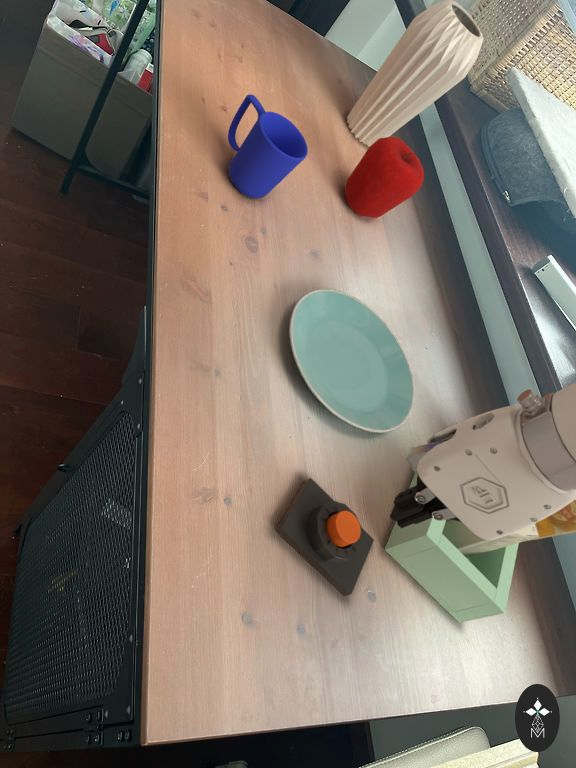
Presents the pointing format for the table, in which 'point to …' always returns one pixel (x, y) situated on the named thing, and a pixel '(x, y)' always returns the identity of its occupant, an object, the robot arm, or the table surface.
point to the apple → (384, 178)
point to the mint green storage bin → (453, 569)
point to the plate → (351, 361)
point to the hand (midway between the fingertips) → (399, 512)
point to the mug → (264, 151)
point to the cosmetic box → (476, 545)
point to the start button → (343, 528)
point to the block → (323, 537)
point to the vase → (417, 71)
